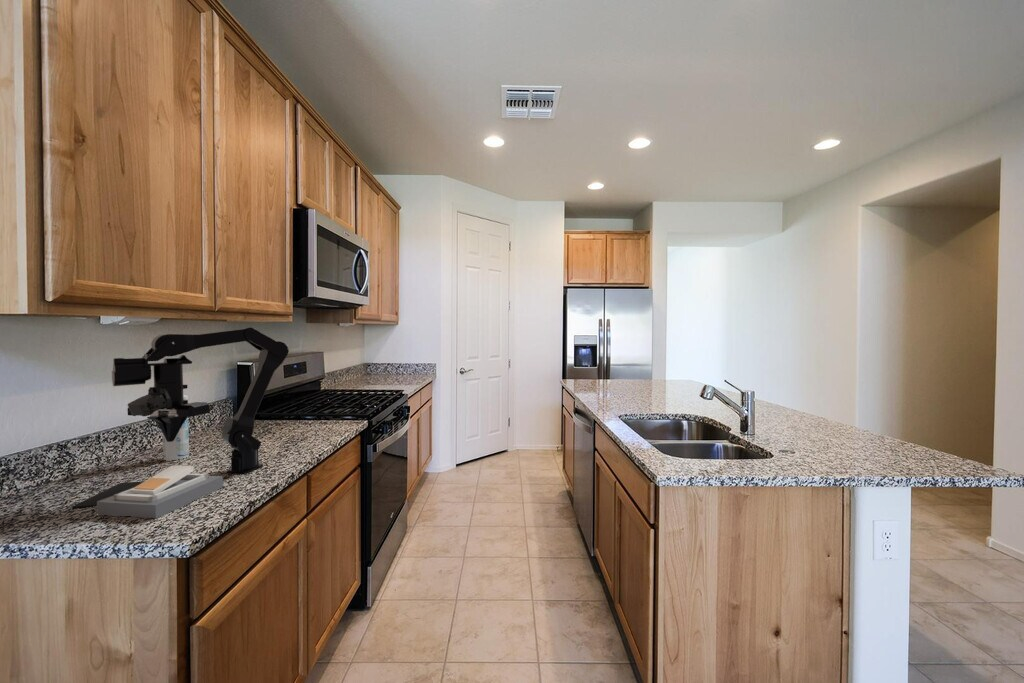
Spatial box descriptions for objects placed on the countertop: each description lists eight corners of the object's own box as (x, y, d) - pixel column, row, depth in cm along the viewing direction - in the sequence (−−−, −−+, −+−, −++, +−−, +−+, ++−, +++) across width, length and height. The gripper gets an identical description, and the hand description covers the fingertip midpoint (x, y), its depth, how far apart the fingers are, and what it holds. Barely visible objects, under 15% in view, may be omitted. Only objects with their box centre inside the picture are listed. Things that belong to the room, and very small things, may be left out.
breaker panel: (172, 485, 104) (172, 469, 104) (223, 487, 102) (222, 471, 102) (97, 515, 87) (96, 496, 87) (156, 518, 85) (155, 499, 85)
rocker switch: (173, 469, 100) (171, 464, 100) (194, 470, 99) (192, 465, 99) (131, 494, 90) (130, 489, 90) (154, 495, 90) (153, 490, 89)
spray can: (182, 460, 124) (180, 397, 124) (158, 462, 123) (156, 398, 122) (193, 454, 131) (191, 394, 130) (170, 455, 129) (168, 395, 128)
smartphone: (150, 480, 106) (105, 504, 92) (150, 483, 106) (106, 508, 92) (119, 482, 105) (70, 507, 90) (119, 485, 105) (70, 510, 90)
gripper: (102, 386, 96) (104, 449, 96) (169, 387, 93) (171, 452, 94) (149, 380, 107) (151, 437, 107) (211, 381, 104) (212, 439, 105)
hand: (170, 441), depth 103 cm, fingers closed
